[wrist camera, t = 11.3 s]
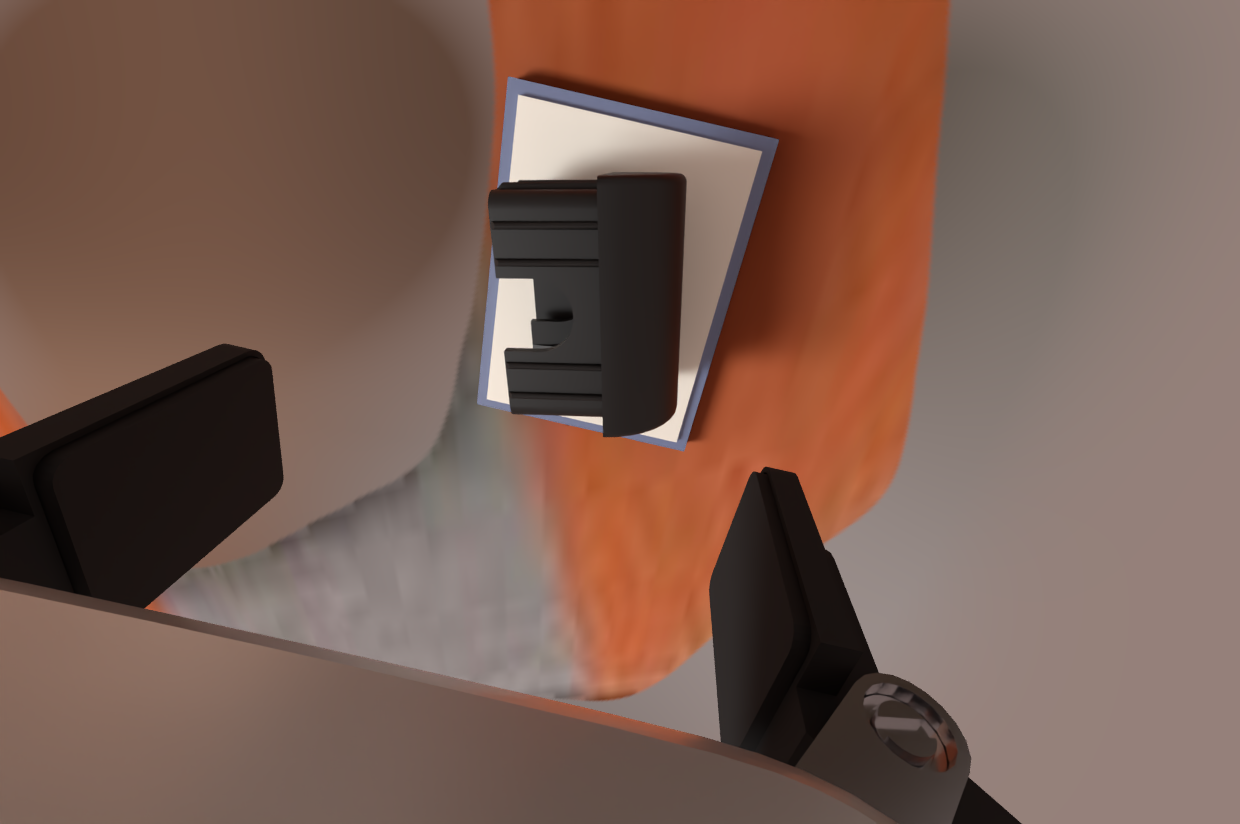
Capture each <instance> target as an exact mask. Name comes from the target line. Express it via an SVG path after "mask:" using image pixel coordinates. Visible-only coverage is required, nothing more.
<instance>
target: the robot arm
mask: <svg viewBox="0 0 1240 824" xmlns="http://www.w3.org/2000/svg"><path fill="white" fill-rule="evenodd" d="M282 484H283V467H282V458H281V449H280V439H279V430H278V422H277V412H276V403H275V394H274V384H273V375H272V369H271V365H270V364H269V362H267V361H266V360H265V359H264V357H263V355H262V354H261V353H260V352H258V351H256V350H251V349H247V348H243V347H238V346H234V345H230V344H221V345H218V346H215V347H213V348H211V349H208V350H206V351H204V352H201V353H199V354H196V355H194V356H192V357H190V358H187V359H185V360H182V361H180V362H177V363H175V364H173V365H171V366H168V367H166V368H163V369H161V370H159V371H156V372H154V373H151V374H149V375H147V376H144V377H142V378H140V379H137V380H135V381H133V382H130V383H128V384H125V385H123V386H121V387H118V388H116V389H114V390H111V391H109V392H107V393H104V394H102V395H99V396H97V397H95V398H92V399H90V400H88V401H85V402H83V403H81V404H78V405H76V406H73V407H71V408H69V409H66V410H64V411H62V412H59V413H57V414H55V415H52V416H50V417H47V418H45V419H43V420H40V421H38V422H36V423H33V424H31V425H29V426H26V427H24V428H21V429H19V430H17V431H14V432H12V433H10V434H7V435H5V436H3V437H0V824H1021V823H1020V822H1019V821H1018V820H1017V819H1016V818H1015V817H1013V816H1012V815H1011V814H1010V813H1009V812H1008V811H1007V810H1005V809H1004V808H1003V807H1002V806H1001V805H1000V804H999V803H997V802H996V801H995V800H994V799H993V798H992V797H991V796H989V795H988V794H987V793H985V791H984V790H982V789H981V788H980V787H979V786H978V785H977V784H976V783H974V782H973V781H972V780H971V779H970V778H969V773H970V766H971V756H970V752H969V749H968V746H967V742H966V740H965V738H964V736H963V734H962V732H961V731H960V729H959V727H958V725H957V724H956V722H955V721H954V720H953V719H952V718H951V716H950V715H949V714H948V713H947V712H946V710H945V709H944V708H943V707H942V706H941V705H940V704H939V703H938V702H937V701H935V700H934V699H933V698H932V697H931V696H930V695H929V694H927V693H926V692H925V691H923V690H922V689H920V688H918V687H917V686H915V685H914V684H912V683H910V682H909V681H906V680H904V679H901V678H899V677H896V676H894V675H890V674H883V673H879V672H878V669H877V667H876V664H875V662H874V659H873V657H872V654H871V652H870V649H869V647H868V644H867V642H866V639H865V637H864V634H863V631H862V629H861V626H860V624H859V621H858V619H857V616H856V613H855V611H854V608H853V606H852V603H851V601H850V598H849V595H848V593H847V590H846V588H845V586H844V583H843V580H842V578H841V575H840V573H839V570H838V568H837V565H836V562H835V560H834V558H833V556H832V554H831V553H830V552H829V551H827V550H825V548H824V545H823V543H822V540H821V537H820V535H819V532H818V530H817V527H816V524H815V522H814V519H813V516H812V514H811V511H810V508H809V506H808V503H807V500H806V498H805V495H804V492H803V490H802V487H801V485H800V482H799V479H798V477H797V475H796V474H795V473H792V472H788V471H783V470H779V469H774V468H770V467H765V468H763V470H762V471H761V473H758V472H752V474H751V475H750V477H749V480H748V482H747V485H746V487H745V490H744V493H743V495H742V498H741V500H740V503H739V506H738V508H737V511H736V513H735V516H734V519H733V521H732V524H731V526H730V529H729V532H728V534H727V537H726V539H725V542H724V544H723V547H722V550H721V552H720V555H719V557H718V560H717V563H716V565H715V568H714V570H713V573H712V576H711V580H710V588H709V596H710V608H711V621H712V634H713V647H714V658H715V672H716V685H717V698H718V711H719V723H720V736H721V742H719V741H715V740H712V739H708V738H705V737H702V736H698V735H694V734H689V733H685V732H681V731H678V730H674V729H669V728H665V727H661V726H657V725H653V724H649V723H645V722H641V721H637V720H633V719H629V718H625V717H621V716H617V715H613V714H609V713H605V712H601V711H596V710H593V709H588V708H584V707H580V706H575V705H570V704H567V703H562V702H558V701H553V700H549V699H545V698H540V697H536V696H532V695H527V694H523V693H519V692H514V691H510V690H506V689H501V688H497V687H492V686H488V685H484V684H479V683H475V682H471V681H466V680H462V679H458V678H453V677H449V676H444V675H440V674H436V673H431V672H427V671H423V670H418V669H414V668H409V667H405V666H400V665H396V664H392V663H387V662H383V661H378V660H374V659H369V658H365V657H360V656H356V655H351V654H347V653H342V652H338V651H334V650H329V649H325V648H320V647H316V646H311V645H307V644H302V643H298V642H293V641H289V640H284V639H280V638H275V637H271V636H266V635H262V634H257V633H253V632H248V631H244V630H239V629H235V628H230V627H226V626H221V625H217V624H212V623H208V622H203V621H199V620H194V619H189V618H185V617H180V616H176V615H171V614H166V613H162V612H157V611H153V610H148V609H144V608H145V607H147V606H148V605H149V604H150V603H151V602H152V601H154V600H155V599H156V598H157V597H158V596H159V595H161V594H162V593H163V592H164V591H165V590H166V589H167V588H169V587H170V586H171V585H172V584H173V583H174V582H176V581H177V580H178V579H179V578H180V577H181V576H183V575H184V574H185V573H186V572H187V571H188V570H190V569H191V568H192V567H193V566H194V565H195V564H196V563H198V562H199V561H200V560H201V559H202V558H203V557H205V556H206V555H207V554H208V553H209V552H210V551H212V550H213V549H214V548H215V547H216V546H217V545H218V544H220V543H221V542H222V541H223V540H224V539H226V538H227V537H228V536H229V535H230V534H231V533H233V532H234V531H235V530H236V529H237V528H238V527H239V526H241V525H242V524H243V523H244V522H245V521H246V520H248V519H249V518H250V517H251V516H252V515H253V514H255V513H256V512H257V511H258V510H259V509H260V508H262V507H263V506H264V505H265V504H266V503H267V502H268V501H270V500H271V499H272V498H273V497H274V496H275V495H276V494H277V493H278V492H279V490H280V489H281V486H282Z"/></svg>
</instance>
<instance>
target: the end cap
mask: <svg viewBox="0 0 1240 824" xmlns="http://www.w3.org/2000/svg"><path fill="white" fill-rule="evenodd" d="M686 190H687V179H686V177H685V176H684V175H683V174H681V173H669V172H613V173H608V174H603V175H598V176H597V180H519V181H518V182H503V183H501V185H500V186H499V187H498V188H497V189H495V190H491V191H490V194H489V198H488V210H489V219H490V228H491V238H492V247H493V256H494V265H495V274H496V278H502V279H533V283H534V296H535V309H536V319H532V320H531V332H532V344H533V348H506V349H505V351H504V357H505V366H506V376H507V385H508V394H509V403H510V410H511V413H512V414H525V415H554V416H583V417H602V418H603V437H622V436H631V435H636V434H641V433H645V432H648V431H651V430H654V429H656V428H658V427H660V426H662V425H664V424H665V423H666V422H667V421H669V420H670V419H671V418H672V416H673V415H674V414H675V412H676V408H677V397H678V374H679V351H680V328H681V305H682V282H683V259H684V236H685V213H686Z"/></svg>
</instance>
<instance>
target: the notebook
mask: <svg viewBox="0 0 1240 824" xmlns="http://www.w3.org/2000/svg"><path fill="white" fill-rule="evenodd" d="M778 142H779V139H775V138H770V137H766V136H762V135H758V134H753V133H749V132H745V131H740V130H736V129H732V128H728V127H723V126H719V125H715V124H710V123H706V122H702V121H697V120H693V119H689V118H685V117H680V116H676V115H672V114H667V113H663V112H659V111H655V110H650V109H646V108H642V107H637V106H633V105H629V104H624V103H620V102H616V101H612V100H607V99H603V98H599V97H594V96H590V95H586V94H581V93H577V92H573V91H569V90H564V89H560V88H556V87H551V86H547V85H543V84H539V83H534V82H530V81H526V80H521V79H517V78H513V77H508V83H507V93H506V104H505V114H504V125H503V135H502V146H501V157H500V167H499V178H498V187H499V186H500V185H501V183H503V182H518V181H519V180H597V176H598V175H603V174H608V173H613V172H669V173H681V174H683V175H684V176H685V177H686V179H687V190H686V213H685V236H684V259H683V282H682V305H681V328H680V351H679V374H678V397H677V408H676V412H675V414H674V415H673V416H672V418H671V419H670V420H669V421H667V422H666V423H665V424H664V425H662V426H660V427H658V428H656V429H654V430H651V431H648V432H645V433H641V434H636V435H631V436H622V437H623V438H628V439H632V440H636V441H641V442H645V443H650V444H654V445H658V446H663V447H667V448H671V449H676V450H680V451H684V450H685V447H686V443H687V440H688V437H689V434H690V430H691V427H692V424H693V421H694V417H695V414H696V411H697V407H698V404H699V401H700V398H701V394H702V391H703V388H704V384H705V381H706V378H707V375H708V371H709V368H710V365H711V362H712V358H713V355H714V352H715V348H716V345H717V342H718V339H719V335H720V332H721V329H722V325H723V322H724V319H725V316H726V312H727V309H728V306H729V303H730V299H731V296H732V293H733V289H734V286H735V283H736V280H737V276H738V273H739V270H740V267H741V263H742V260H743V257H744V253H745V250H746V247H747V244H748V240H749V237H750V234H751V230H752V227H753V224H754V221H755V217H756V214H757V211H758V208H759V204H760V201H761V198H762V194H763V191H764V188H765V185H766V181H767V178H768V175H769V171H770V168H771V165H772V162H773V158H774V155H775V152H776V149H777V145H778ZM532 319H536V309H535V296H534V283H533V279H502V278H496V274H495V265H494V256H493V247H492V252H491V262H490V273H489V283H488V294H487V305H486V315H485V326H484V336H483V347H482V358H481V368H480V379H479V389H478V400H477V404H479V405H483V406H488V407H492V408H497V409H501V410H505V411H510V412H511V410H510V403H509V394H508V385H507V376H506V366H505V357H504V351H505V349H506V348H533V344H532V332H531V320H532ZM523 415H525V414H523ZM527 416H532V417H536V418H540V419H545V420H549V421H553V422H558V423H562V424H567V425H571V426H575V427H580V428H584V429H588V430H593V431H597V432H602V433H603V418H602V417H583V416H554V415H527Z"/></svg>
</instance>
